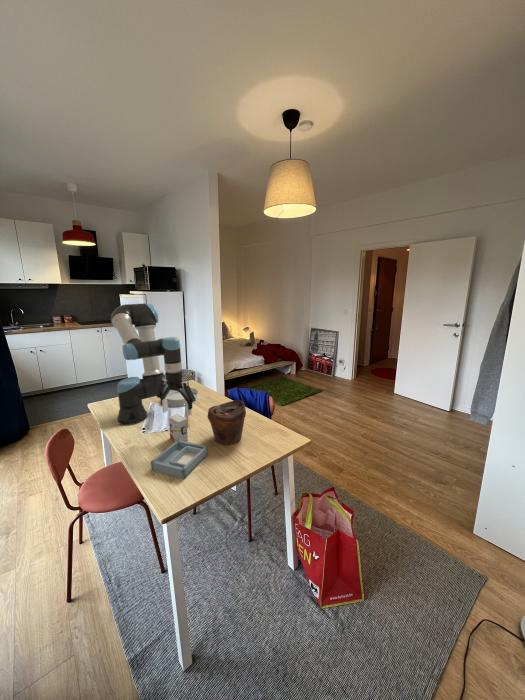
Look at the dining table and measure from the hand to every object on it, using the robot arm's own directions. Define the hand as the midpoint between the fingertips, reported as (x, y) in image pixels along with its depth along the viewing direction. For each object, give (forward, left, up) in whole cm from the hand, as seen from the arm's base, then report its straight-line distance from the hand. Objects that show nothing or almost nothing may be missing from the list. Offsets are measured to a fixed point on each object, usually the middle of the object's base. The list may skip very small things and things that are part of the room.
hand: (177, 413), depth 138 cm
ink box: (0, 0, -14) cm, 14 cm away
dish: (-29, +42, -15) cm, 53 cm away
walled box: (+12, -15, -14) cm, 24 cm away
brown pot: (+22, +9, -14) cm, 28 cm away
